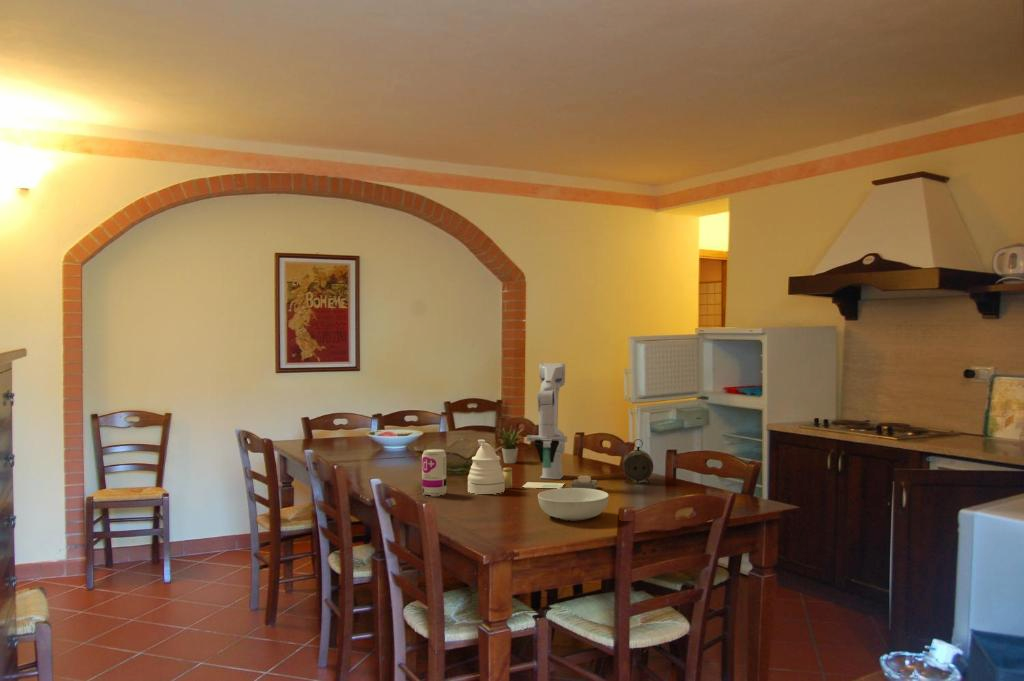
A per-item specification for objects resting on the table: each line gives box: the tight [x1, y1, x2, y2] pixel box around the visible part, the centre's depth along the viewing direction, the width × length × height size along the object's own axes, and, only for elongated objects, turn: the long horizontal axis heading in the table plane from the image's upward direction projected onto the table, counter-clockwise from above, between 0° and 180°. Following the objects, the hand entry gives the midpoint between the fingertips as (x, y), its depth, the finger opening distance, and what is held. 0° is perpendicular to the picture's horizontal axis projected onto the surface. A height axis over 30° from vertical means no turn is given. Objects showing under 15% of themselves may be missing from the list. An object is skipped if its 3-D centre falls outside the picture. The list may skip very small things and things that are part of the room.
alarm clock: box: [622, 438, 654, 485], centre depth 274 cm, size 11×5×16 cm, turn 84°
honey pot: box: [467, 439, 506, 495], centre depth 261 cm, size 13×13×18 cm
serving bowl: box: [537, 487, 610, 522], centre depth 221 cm, size 21×21×7 cm
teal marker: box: [541, 447, 551, 468], centre depth 268 cm, size 3×3×7 cm
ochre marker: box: [502, 467, 513, 489], centre depth 266 cm, size 3×3×7 cm
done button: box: [577, 475, 592, 483], centre depth 264 cm, size 4×4×3 cm
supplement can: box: [421, 448, 447, 497], centre depth 255 cm, size 8×8×15 cm
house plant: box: [495, 425, 524, 464], centre depth 324 cm, size 14×14×16 cm
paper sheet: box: [521, 481, 566, 489], centre depth 269 cm, size 10×14×1 cm
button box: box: [571, 479, 598, 490], centre depth 264 cm, size 8×8×2 cm
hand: (546, 461), depth 268 cm, fingers closed on teal marker, 3 cm apart
